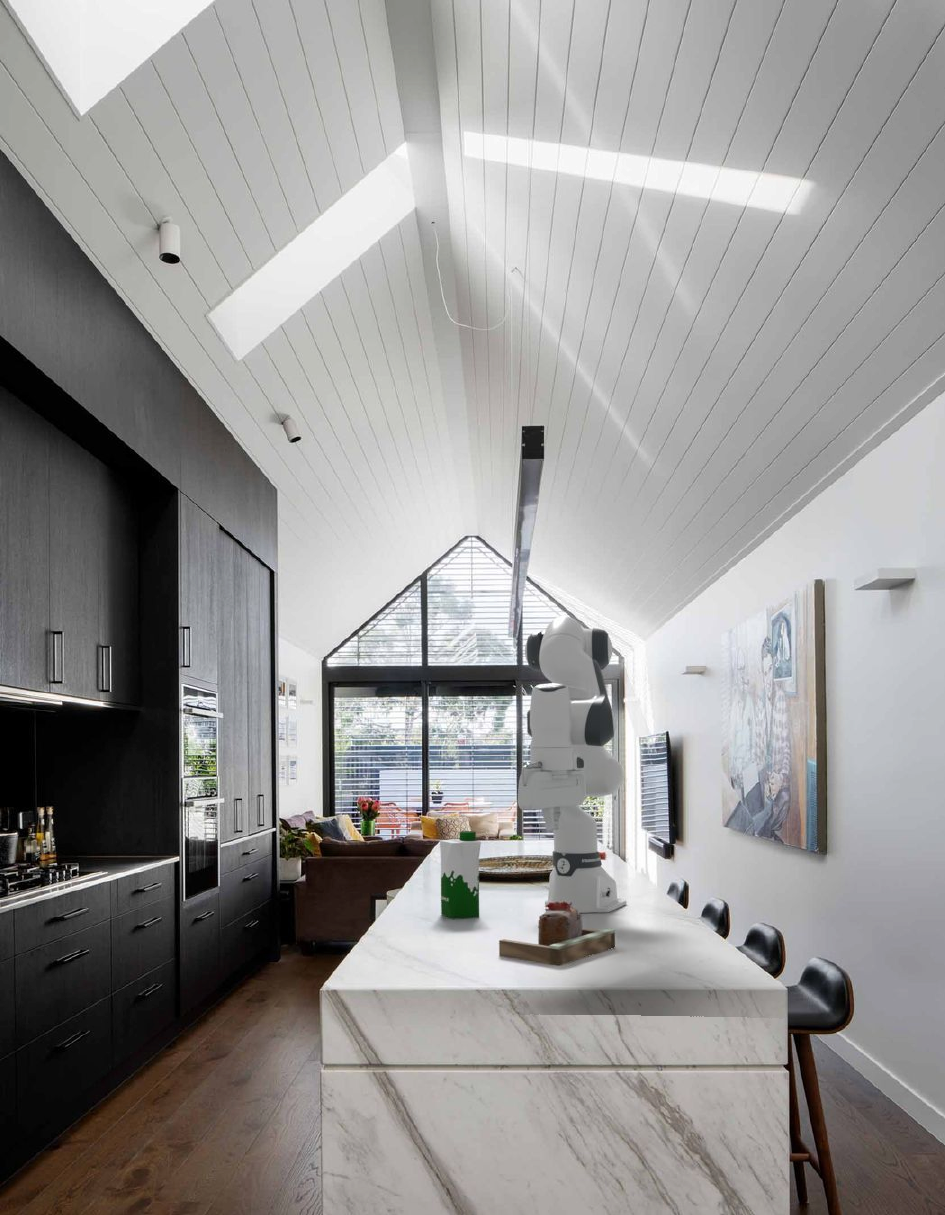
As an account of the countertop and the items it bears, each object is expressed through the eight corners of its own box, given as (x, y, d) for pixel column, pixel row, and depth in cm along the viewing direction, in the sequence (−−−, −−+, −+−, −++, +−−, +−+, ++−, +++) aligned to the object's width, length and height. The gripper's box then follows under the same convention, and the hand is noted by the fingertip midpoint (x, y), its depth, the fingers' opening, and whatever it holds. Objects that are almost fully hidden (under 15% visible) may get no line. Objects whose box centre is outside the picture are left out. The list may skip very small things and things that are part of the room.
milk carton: (484, 917, 238) (484, 832, 241) (450, 920, 234) (450, 834, 237) (469, 911, 246) (469, 830, 249) (435, 914, 242) (435, 831, 245)
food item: (546, 943, 207) (545, 895, 209) (584, 945, 205) (583, 896, 207) (536, 957, 194) (535, 905, 195) (576, 959, 192) (575, 907, 194)
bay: (558, 939, 211) (558, 922, 212) (615, 947, 202) (614, 930, 203) (499, 956, 195) (499, 937, 195) (558, 965, 186) (558, 946, 187)
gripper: (535, 763, 194) (536, 835, 193) (590, 760, 210) (591, 826, 209) (509, 763, 198) (510, 833, 196) (565, 760, 214) (566, 824, 212)
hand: (553, 829), depth 203 cm, fingers closed
